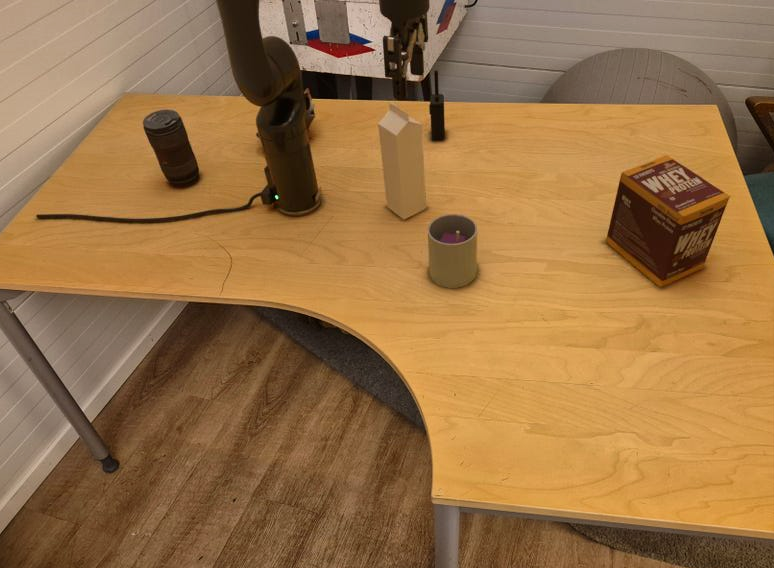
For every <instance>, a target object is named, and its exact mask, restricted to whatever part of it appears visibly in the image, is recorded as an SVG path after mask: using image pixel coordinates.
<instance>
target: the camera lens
mask: <svg viewBox="0 0 774 568" xmlns="http://www.w3.org/2000/svg"><path fill="white" fill-rule="evenodd" d="M142 125H143V130H144V133H145V135H146V138H147V140H148V143H149V144H150V146H151V148H152V150H153V152H154V155H155V158H156V159H157V162H158V165H159V168H160V170H161V172H162V174H163V175H164V177H165V179H166V180H167V181H168V183H169V184H170V186H172V187H173V188H177V189H180V188H181V189H182V188H183V189H184V188H188V187H191V186H193V185H195V184H196V183H198V181H199V180H200V174H199V172H200V168H199V165H198V160H197V158H196V157H197V156H196V155H195V152H194V150H193V148H192V144H191V143H190V140H189V136H188V131H187V128H186V127H185V123H184V121H183V118H182V117H181V116H180V114H179V112H178V111H177V110H174V109H160V110H156V111H153V112H150V113H149V114H147V115H146V116H145V117H144V118H143V120H142Z"/></svg>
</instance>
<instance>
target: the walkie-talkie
mask: <svg viewBox="0 0 774 568" xmlns="http://www.w3.org/2000/svg"><path fill="white" fill-rule="evenodd" d="M433 73H434V74H433V75H434V77H433V78H434V94H430V96H429V105H428V108H429V109H428V111H429V115H430V135H431V141H432V142H437V141H438V142H442V141H444V140H445V139H446V128H445V124H446V123H445V97H444V94H442V93H439V71H438V70H434V72H433Z"/></svg>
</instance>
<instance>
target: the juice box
mask: <svg viewBox="0 0 774 568" xmlns="http://www.w3.org/2000/svg"><path fill="white" fill-rule="evenodd" d="M464 241H466V236H461V235H460V232H459V231H456V235H455V234H449V233H444V234H443V236H442V238H441V240H440V242H442V243H447V244H457V243H461V242H464Z"/></svg>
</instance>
